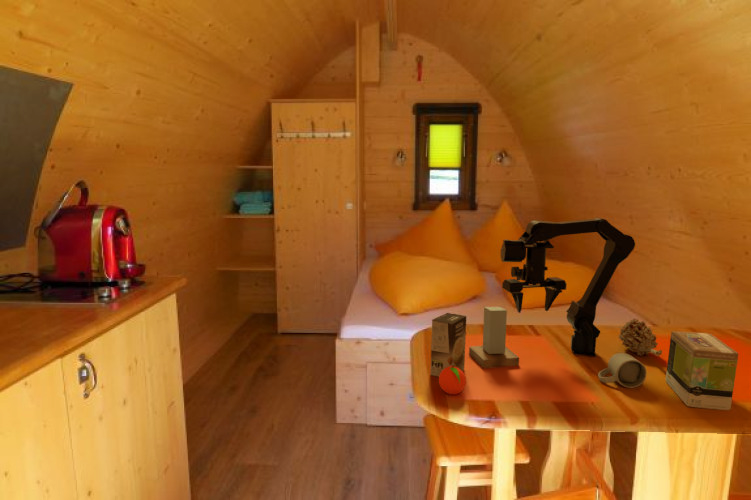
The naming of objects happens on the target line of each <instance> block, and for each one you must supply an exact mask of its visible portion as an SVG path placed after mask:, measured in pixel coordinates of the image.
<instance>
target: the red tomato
mask: <svg viewBox="0 0 751 500" xmlns="http://www.w3.org/2000/svg"><path fill="white" fill-rule="evenodd" d="M438 384H439V386H440V388H441V389H442V390H443V392H445V393H447V394H449V395H457V394H459V393H461V392H462V391H463V390H464V389H465V387H466V384H467V377H466V374H465V373H464V371H462V370H460V369H459V368H457V367H454V366H450V367H447V368H445V369H443V370H442V372H441V373H440V375H439V377H438Z"/></svg>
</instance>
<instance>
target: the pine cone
mask: <svg viewBox="0 0 751 500" xmlns="http://www.w3.org/2000/svg"><path fill="white" fill-rule="evenodd" d="M618 331H619V332H620V334H619V335H618V338H619V341H621V342H622V343H621V344H622V346H624V348H629V351H631V352H632V353H635V352H636V354H637V356H640V357H642V356H644V355H645V354H646V355H650V353H651V354H652V355H655V356H657V357H659V356H661V355H662V354H663V350H661V349H659V350H655V349H656V348H657V346H658V345H659V343H658V342H656V341H657V336H656V334H655V333H653V329H652V328H651V327H650V326H648V324H646V322H645V321H640V320H639V319H636V318H633V319H631V320H629V322H628V321H627V322H625V324H624V326H623V325H622V326H620V329H619V330H618Z"/></svg>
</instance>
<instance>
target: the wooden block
mask: <svg viewBox="0 0 751 500" xmlns="http://www.w3.org/2000/svg"><path fill="white" fill-rule="evenodd" d="M507 313H508V310H507V309H505V308H503V307H501V306H485V307H483V327H482V328H483V332H482V333H483V334H482V346H483V350H485V351H486V352H487V353H488V354H502V353H505V347H506V340H507V339H506V338H507V318H508V317H507V315H508V314H507Z"/></svg>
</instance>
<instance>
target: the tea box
mask: <svg viewBox="0 0 751 500" xmlns="http://www.w3.org/2000/svg"><path fill="white" fill-rule="evenodd" d="M669 338H670V339H669V348H668V355H667V356H668V358H667V364H666V365H667V366H666V373H665V382H666V384H667V385H669V387H670V388H671V389H672V390H673V392H674V393H675V394H676V395H677V396H678V397H679V398H680V400H681V401H682V402H683V403H684V404H685V406H687V407H690V408H691V407H692V408H700V409H711V410H720V411H730V410H731V408H732V401H733V393H734V388H735V382H736V381H735V380H736V375H737V374H736V373H737V367H738V361H739V352H737V351H736V350H734V349H733V348H732V347H730V346H728V345H727V344H726V343H725V342H723V341H722V340H721V339H719V338H717V336H714V335H713V334H712V333H706V332H694V331H693V332H691V331H676V330H672V331H671V334H670V337H669Z"/></svg>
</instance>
